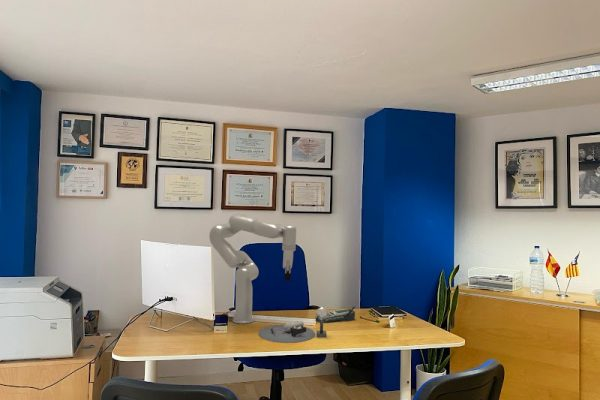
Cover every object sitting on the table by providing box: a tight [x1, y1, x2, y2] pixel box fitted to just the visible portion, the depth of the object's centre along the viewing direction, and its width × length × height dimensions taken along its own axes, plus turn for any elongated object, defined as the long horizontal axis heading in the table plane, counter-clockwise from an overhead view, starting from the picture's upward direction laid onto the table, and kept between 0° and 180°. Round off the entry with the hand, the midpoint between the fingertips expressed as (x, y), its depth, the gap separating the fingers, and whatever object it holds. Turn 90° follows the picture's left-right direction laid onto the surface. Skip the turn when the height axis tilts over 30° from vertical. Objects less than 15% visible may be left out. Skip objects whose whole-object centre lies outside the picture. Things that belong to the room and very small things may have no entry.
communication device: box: [315, 305, 356, 324], centre depth 241 cm, size 12×24×9 cm, turn 111°
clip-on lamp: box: [271, 320, 307, 337], centre depth 211 cm, size 12×6×18 cm
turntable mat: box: [257, 324, 316, 344], centre depth 212 cm, size 30×30×1 cm
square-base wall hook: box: [315, 307, 329, 339], centre depth 209 cm, size 6×5×15 cm
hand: (287, 280), depth 226 cm, fingers closed
